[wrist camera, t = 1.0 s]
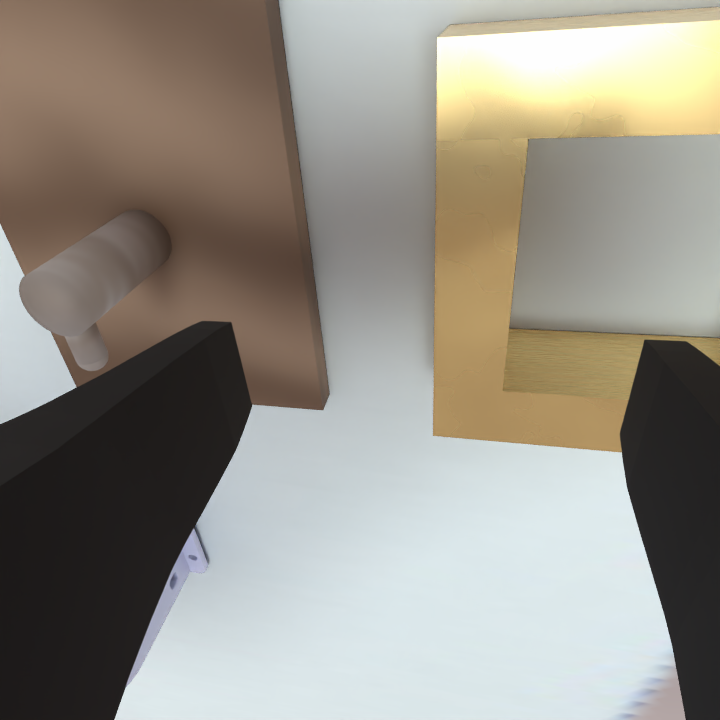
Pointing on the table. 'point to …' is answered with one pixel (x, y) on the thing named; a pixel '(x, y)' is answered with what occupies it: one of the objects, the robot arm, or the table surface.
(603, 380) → the tan slotted block
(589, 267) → the table surface
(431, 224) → the table surface
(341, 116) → the table surface
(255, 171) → the board
